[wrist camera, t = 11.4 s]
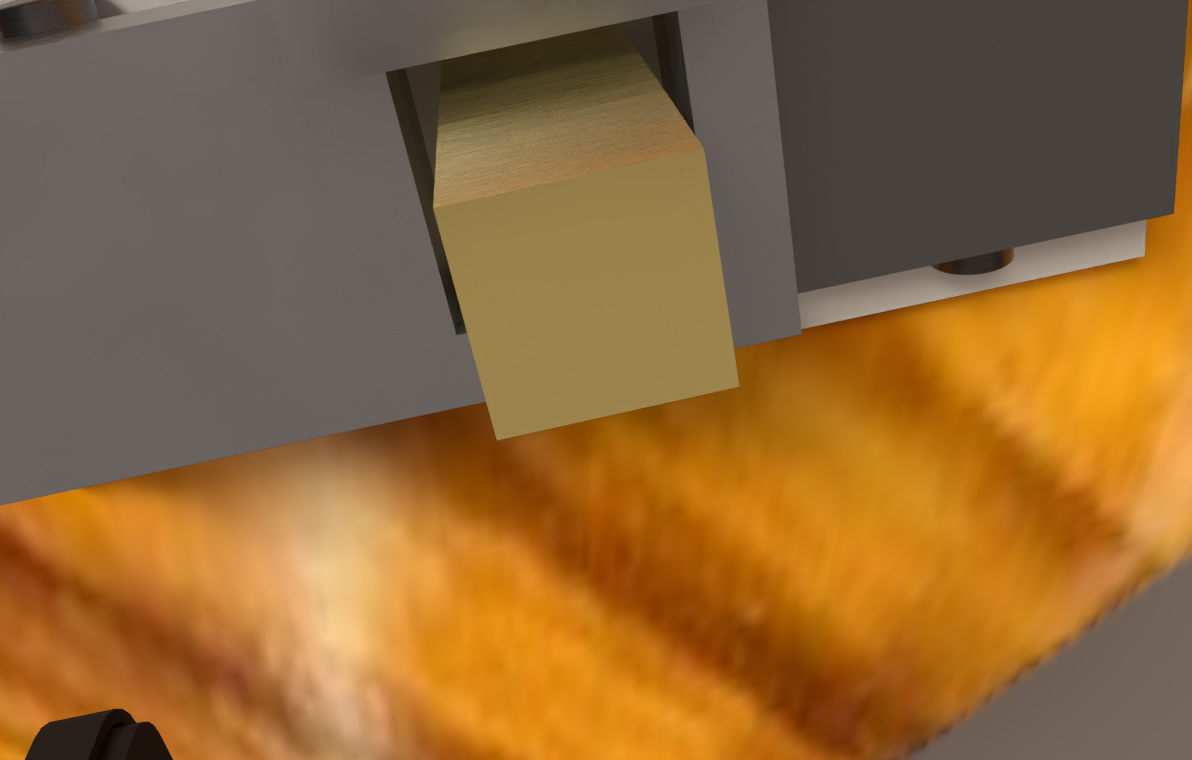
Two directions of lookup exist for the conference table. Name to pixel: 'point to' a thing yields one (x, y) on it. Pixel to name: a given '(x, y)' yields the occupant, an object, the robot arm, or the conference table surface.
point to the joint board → (834, 299)
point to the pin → (578, 233)
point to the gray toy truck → (406, 183)
